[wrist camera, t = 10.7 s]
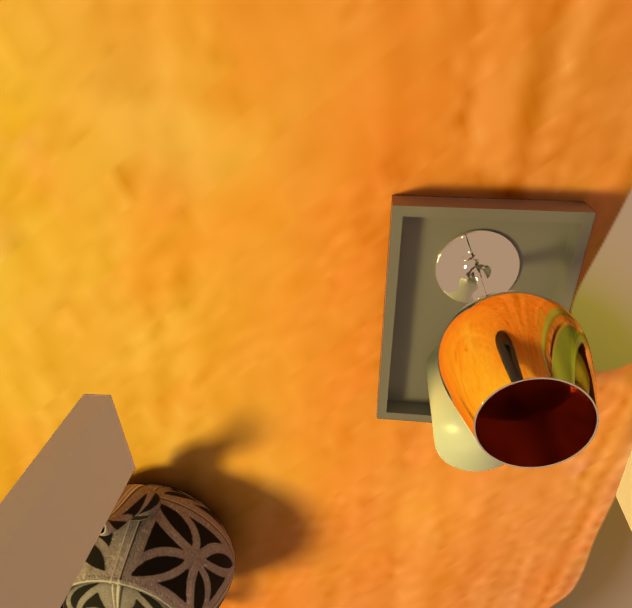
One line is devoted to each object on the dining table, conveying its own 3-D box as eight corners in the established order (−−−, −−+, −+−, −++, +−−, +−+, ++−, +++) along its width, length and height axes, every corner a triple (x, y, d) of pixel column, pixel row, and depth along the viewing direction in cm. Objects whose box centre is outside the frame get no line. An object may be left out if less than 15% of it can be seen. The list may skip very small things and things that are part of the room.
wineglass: (527, 207, 38) (627, 341, 22) (536, 303, 41) (627, 476, 26) (415, 231, 40) (435, 370, 24) (433, 320, 43) (460, 492, 28)
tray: (392, 195, 39) (392, 205, 37) (584, 201, 38) (596, 212, 36) (377, 400, 49) (376, 418, 47) (529, 412, 48) (536, 430, 45)
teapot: (238, 428, 53) (190, 562, 40) (246, 603, 68) (214, 742, 55) (62, 408, 55) (-39, 531, 42) (108, 584, 70) (44, 714, 57)
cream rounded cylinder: (428, 337, 44) (438, 407, 36) (501, 340, 43) (527, 411, 36) (423, 393, 47) (431, 468, 39) (491, 396, 46) (513, 473, 39)
